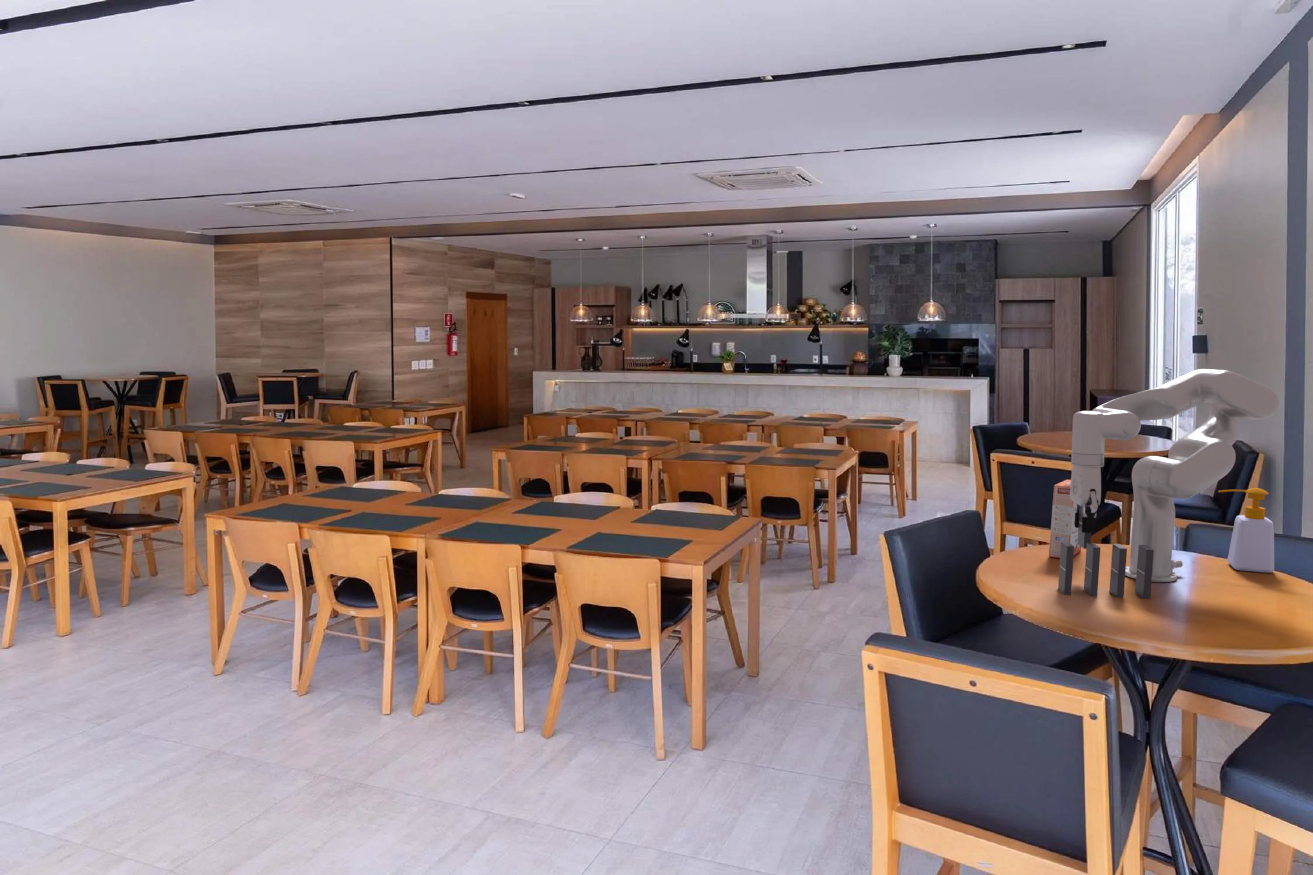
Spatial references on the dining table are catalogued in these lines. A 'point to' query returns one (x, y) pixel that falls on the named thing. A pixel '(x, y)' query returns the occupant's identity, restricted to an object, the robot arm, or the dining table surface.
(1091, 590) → the domino
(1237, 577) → the dining table surface
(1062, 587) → the domino
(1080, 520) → the domino
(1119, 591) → the domino
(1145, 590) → the domino
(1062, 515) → the cracker box
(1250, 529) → the soap bottle
